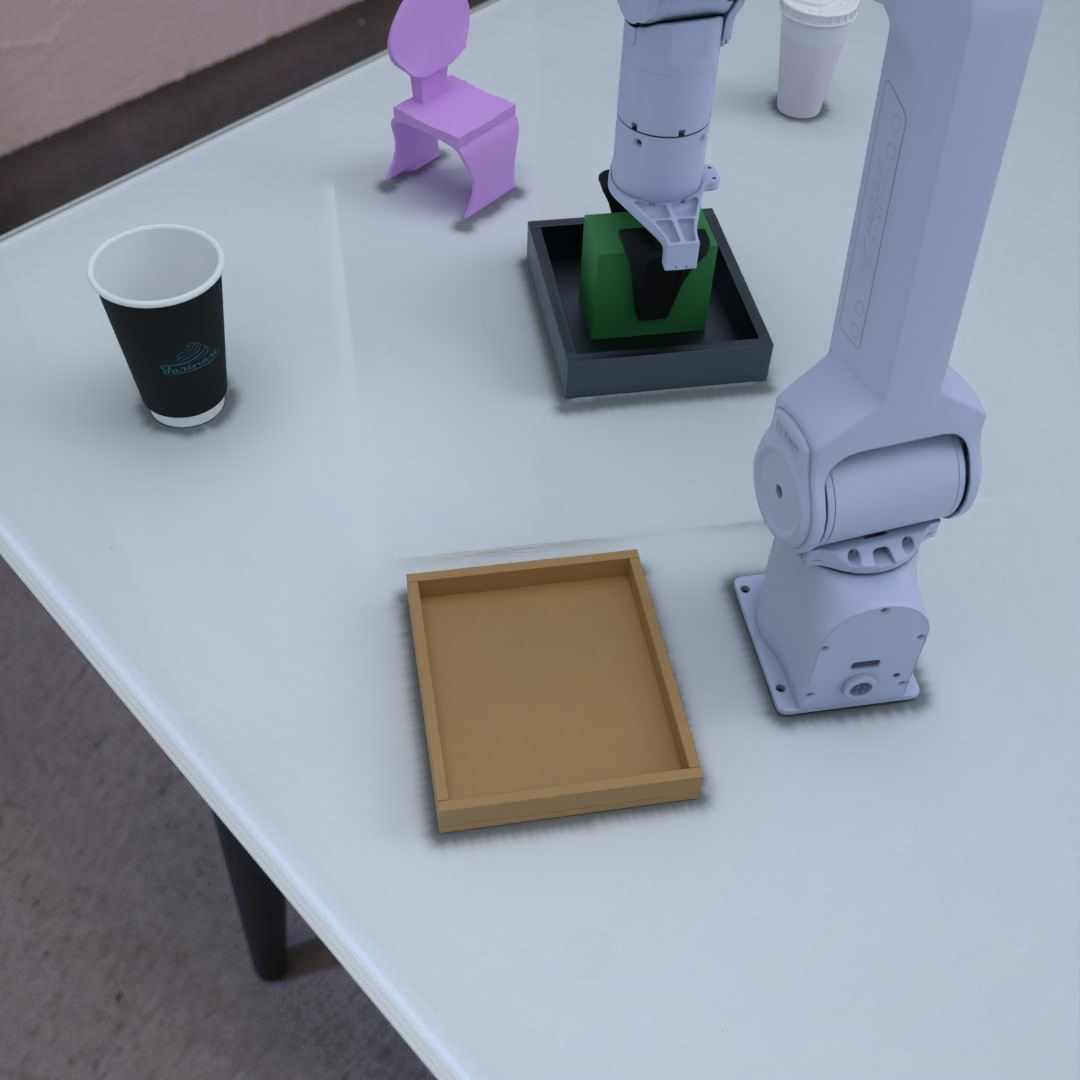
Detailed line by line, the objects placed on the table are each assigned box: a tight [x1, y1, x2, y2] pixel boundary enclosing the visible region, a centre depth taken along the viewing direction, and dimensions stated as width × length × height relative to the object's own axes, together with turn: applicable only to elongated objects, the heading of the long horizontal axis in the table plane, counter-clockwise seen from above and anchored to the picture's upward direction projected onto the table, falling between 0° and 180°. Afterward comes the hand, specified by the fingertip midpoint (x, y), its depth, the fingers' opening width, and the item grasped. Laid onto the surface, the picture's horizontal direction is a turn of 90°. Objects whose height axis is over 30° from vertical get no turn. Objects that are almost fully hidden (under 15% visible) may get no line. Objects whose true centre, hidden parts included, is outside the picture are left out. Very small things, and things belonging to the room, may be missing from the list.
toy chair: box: [386, 0, 520, 219], centre depth 96 cm, size 8×9×15 cm
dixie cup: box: [86, 223, 228, 428], centre depth 81 cm, size 8×8×11 cm
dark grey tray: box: [526, 207, 775, 400], centre depth 90 cm, size 16×14×4 cm
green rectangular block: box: [579, 207, 718, 340], centre depth 89 cm, size 4×8×7 cm, turn 100°
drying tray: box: [405, 548, 704, 834], centre depth 70 cm, size 15×13×2 cm
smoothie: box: [776, 0, 860, 119], centre depth 107 cm, size 6×6×14 cm
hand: (643, 294), depth 90 cm, fingers closed on green rectangular block, 4 cm apart
